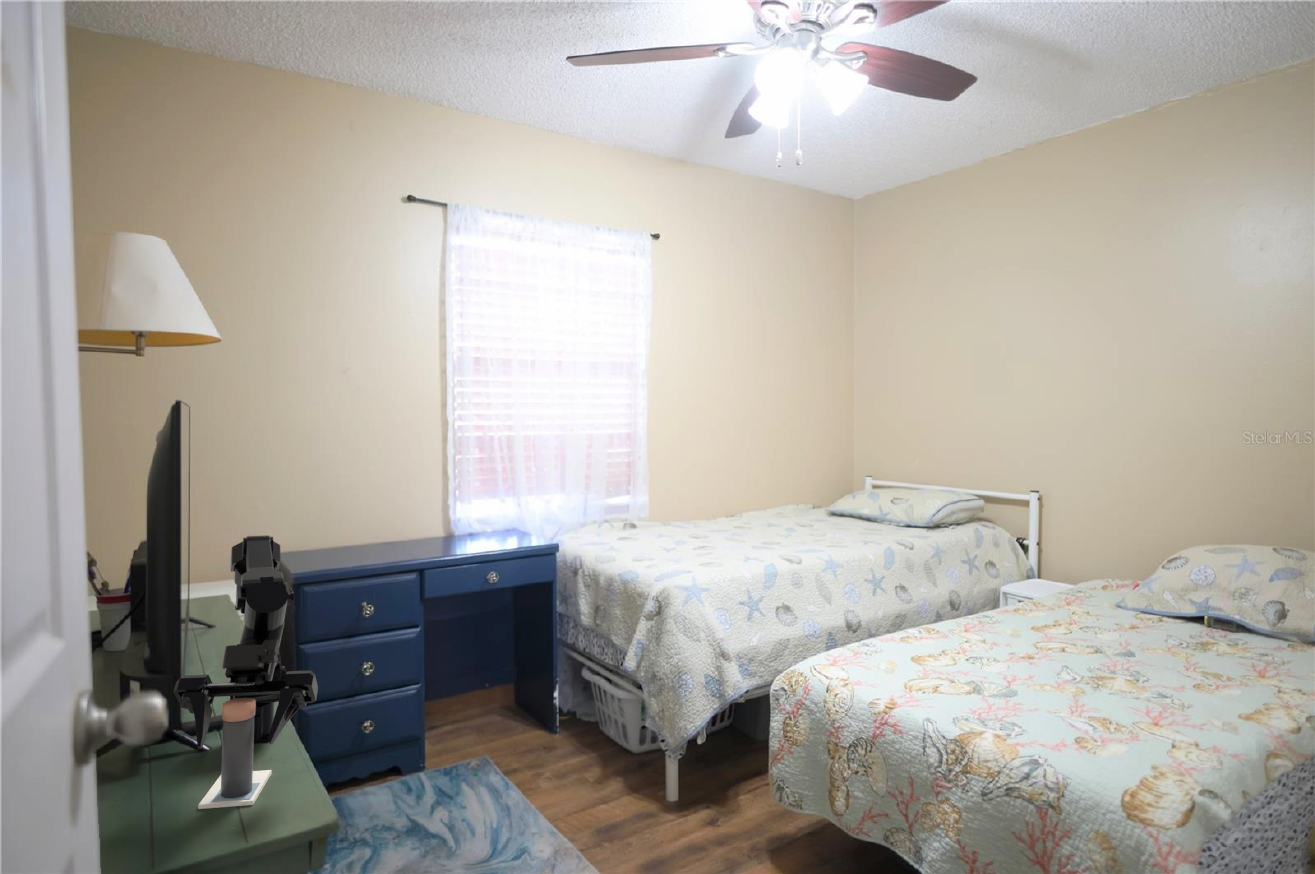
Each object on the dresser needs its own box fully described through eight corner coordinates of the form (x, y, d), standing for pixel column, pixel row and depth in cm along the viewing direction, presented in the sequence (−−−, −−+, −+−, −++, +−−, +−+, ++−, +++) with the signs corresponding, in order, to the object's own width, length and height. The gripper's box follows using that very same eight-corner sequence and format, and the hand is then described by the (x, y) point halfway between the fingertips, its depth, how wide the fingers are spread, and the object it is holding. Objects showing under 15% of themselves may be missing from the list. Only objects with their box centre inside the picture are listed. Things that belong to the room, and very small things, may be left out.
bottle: (225, 786, 111) (228, 698, 111) (256, 784, 112) (259, 697, 112) (215, 799, 107) (218, 708, 107) (248, 797, 108) (250, 707, 107)
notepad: (221, 777, 115) (221, 772, 115) (271, 773, 117) (271, 769, 117) (198, 809, 105) (198, 804, 105) (252, 805, 107) (253, 800, 107)
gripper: (180, 621, 111) (146, 725, 100) (316, 618, 115) (297, 717, 104) (197, 659, 118) (167, 758, 108) (324, 654, 123) (308, 749, 112)
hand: (235, 745), depth 108 cm, fingers open, 9 cm apart
